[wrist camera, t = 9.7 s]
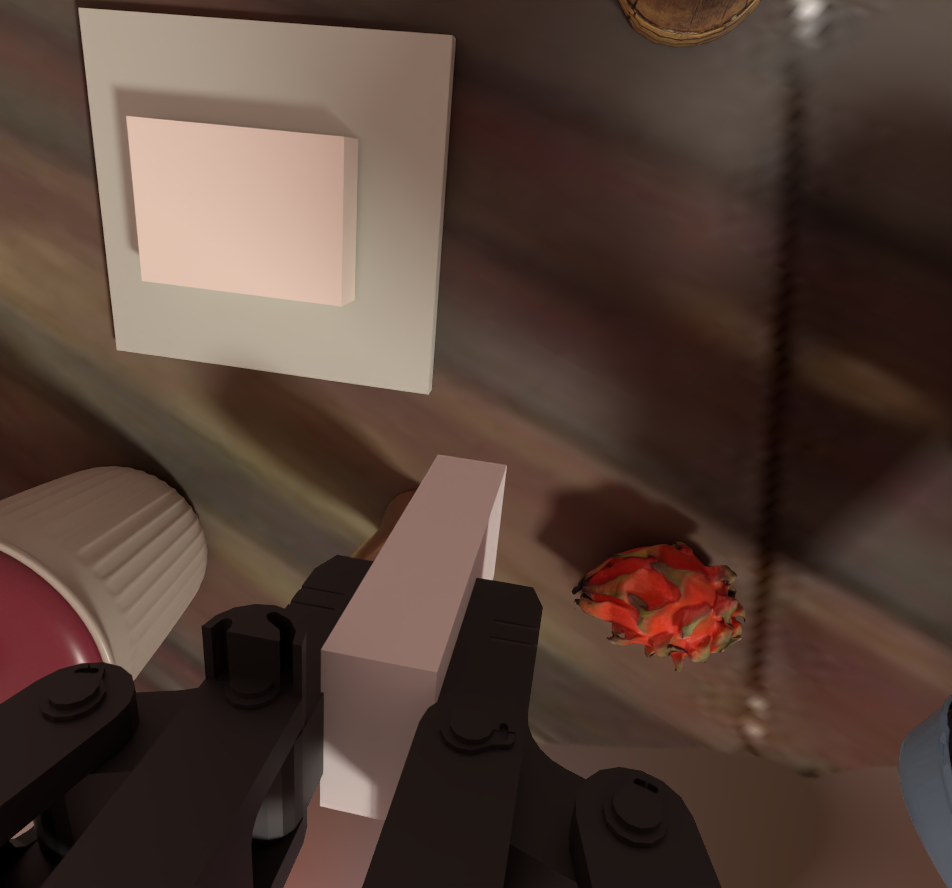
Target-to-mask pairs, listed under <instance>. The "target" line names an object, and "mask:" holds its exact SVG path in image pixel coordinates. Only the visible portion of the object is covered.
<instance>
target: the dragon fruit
mask: <svg viewBox="0 0 952 888" xmlns="http://www.w3.org/2000/svg"><path fill="white" fill-rule="evenodd" d="M608 558H609V559H607V560H606V561H605V562H603V563H602V564H601V565H600V566H598V567H597V568H595V569H594V570H591V571H590V572H588V573H587V574H585V575H584V577H583V578H582V579H581V580H580V582H579V583H578V586H577V587H575V588H574V589H573V590H572V593H573V594H576V593H577V592H579V591H580V590H581V589H582V591H584V592H585V591H587V592H590V594H591V596H592V599H593V600H594V601H593V600H592V599H591V598H590V597H588V596H587V595H586V594H585V593H582V595H581V596H580V599H575V601H574V602H576V604H578V605H579V606H580V607H581V609H582V610H583V612H585V613H587V614H588V615H591V616H593V617H596V618H600V619H602V620H604V621H607V622H612V623H613V624H612V634H613V636H612V637H610V638H608V637H607V640H608V641H609V642H611V643H613V644H618V645H627V644H630V643H641V644H645V655H646V656H647V658H651V657H655V656H657V657H659V658H660V657H661V658H666V657H668V656H670V655H671V656H672V659H673V662H674V664H675V668H676V669H675V671H676V672H680V671H682V669H683V658H684V657H686V656H688V657H689V658H690V659H691V660H692V661H694V662H700V661H703V662H704V663H706V662H707V661H708V659H709V656H710V653H717V652H721V651H724V650H725V649H727V648H728V647H729V646H730V645H732V644H733V643H735V642H737V641H739V640H741V636H740V635H742V625H741V623H740V622H738V621H737V620H736V618H735V616H737V615H741V616H742V617H744V622H745V620H746V619H747V618H746V615H745V610H744V608H743V607H742V606H741V604H740V603H739V601H738V600H736V599H735V594H736V589H735V588H734V587H732V586H731V585H730V584H731V583H732V582H734V580H735V579H736V577H737V574H736V573H735V572H734V571H732V570H731V569H730V568H729V567H728V566H726V565H721V566H718V565H714V566H712V567H707V566H704V564H703V563H702V562H700V560H699V559H698V558H697V557H696V556H695V555H694V554H693V550H692V549H691V548H690V547H689V546H688V545H686V544H685V543H683V542H674V544H673V545H672V546H669V545H667V544H660V545H655V546H652V547H651V546H650V547H640V548H634V549H630V550H628V551H625V552H622V553H619V554H611V555H609V556H608ZM725 581H726V582H727V583H725ZM588 582H589V583H588ZM587 583H588V585H587V586H585V585H586V584H587ZM745 623H746V622H745ZM618 634H625V638H620V637H619V636H618Z"/></svg>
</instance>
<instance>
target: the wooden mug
mask: <svg viewBox="0 0 952 888" xmlns="http://www.w3.org/2000/svg"><path fill="white" fill-rule="evenodd" d="M618 1H619V3H620V5H621V7H622V9H623V11H624V13H625V15H626V16H627V18H628V20H629V22H630V23H631V25H632V27H633V29H634V30H635V31H636V32H638V33H639V34H641V35H642V36H644V37H645V38H647V39H648V40H650V41H651V42H653V43H654V44H660V45H666V46H671V47H690V46H698V45H701V44H704V43H707V42H710V41H713V40H717V39H718V38H720V37H721V36H723V35H725V34H726V33H728V32H729V31H731V30H733V29H734V28H736V27H737V26H738V25H739V24H740V23H741V22H742V21H743V20H744V19H745V18H746V17H748V16H749V15H750V14H751V13H752V12H753V11H754V10H755V9H756V7H757V6H758V4H759V2H760V1H761V0H618Z"/></svg>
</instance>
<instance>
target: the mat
mask: <svg viewBox="0 0 952 888" xmlns="http://www.w3.org/2000/svg"><path fill="white" fill-rule="evenodd" d="M78 9H79V18H80V27H81V36H82V45H83V54H84V62H85V71H86V80H87V89H88V98H89V107H90V116H91V125H92V134H93V142H94V151H95V160H96V169H97V178H98V187H99V196H100V205H101V213H102V222H103V231H104V240H105V249H106V258H107V267H108V276H109V285H110V293H111V302H112V311H113V320H114V329H115V338H116V347H117V350H121V351H128V352H135V353H142V354H149V355H156V356H163V357H170V358H177V359H184V360H191V361H198V362H205V363H212V364H219V365H226V366H233V367H240V368H247V369H254V370H261V371H268V372H275V373H282V374H289V375H296V376H303V377H310V378H317V379H324V380H331V381H338V382H345V383H352V384H359V385H366V386H373V387H380V388H387V389H394V390H401V391H408V392H415V393H422V394H429V393H430V392H431V390H432V377H433V362H434V348H435V333H436V319H437V305H438V290H439V276H440V261H441V247H442V233H443V218H444V204H445V189H446V175H447V160H448V146H449V132H450V117H451V103H452V88H453V74H454V60H455V45H456V38H455V37H454V36H453V35H443V34H429V33H416V32H402V31H388V30H375V29H361V28H348V27H334V26H321V25H307V24H293V23H280V22H266V21H253V20H239V19H226V18H212V17H199V16H185V15H171V14H158V13H144V12H131V11H117V10H104V9H90V8H78ZM126 116H132V117H142V118H153V119H163V120H174V121H184V122H195V123H205V124H216V125H226V126H237V127H247V128H258V129H268V130H279V131H289V132H300V133H310V134H321V135H331V136H342V137H349V138H355V139H358V178H357V222H356V265H355V300H354V301H352V302H350V303H348V304H346V305H344V306H342V307H341V306H333V305H325V304H318V303H310V302H302V301H294V300H287V299H279V298H271V297H263V296H255V295H248V294H240V293H232V292H224V291H216V290H209V289H201V288H193V287H185V286H177V285H170V284H162V283H154V282H146V281H142V277H141V267H140V256H139V246H138V235H137V225H136V214H135V203H134V193H133V182H132V172H131V161H130V151H129V140H128V129H127V119H126Z"/></svg>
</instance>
